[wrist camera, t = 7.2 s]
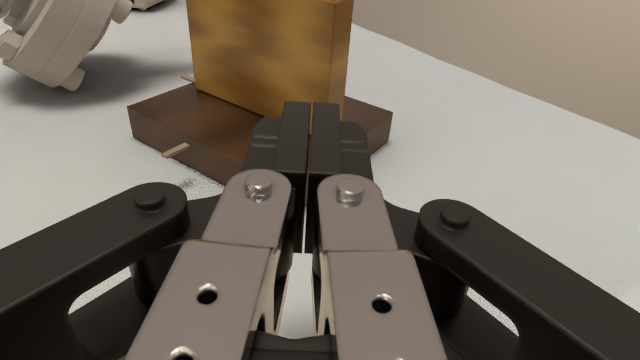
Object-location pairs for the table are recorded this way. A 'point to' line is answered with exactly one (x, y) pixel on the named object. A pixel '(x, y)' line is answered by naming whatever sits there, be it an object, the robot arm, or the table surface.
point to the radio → (144, 3)
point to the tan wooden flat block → (271, 51)
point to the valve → (55, 36)
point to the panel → (224, 128)
